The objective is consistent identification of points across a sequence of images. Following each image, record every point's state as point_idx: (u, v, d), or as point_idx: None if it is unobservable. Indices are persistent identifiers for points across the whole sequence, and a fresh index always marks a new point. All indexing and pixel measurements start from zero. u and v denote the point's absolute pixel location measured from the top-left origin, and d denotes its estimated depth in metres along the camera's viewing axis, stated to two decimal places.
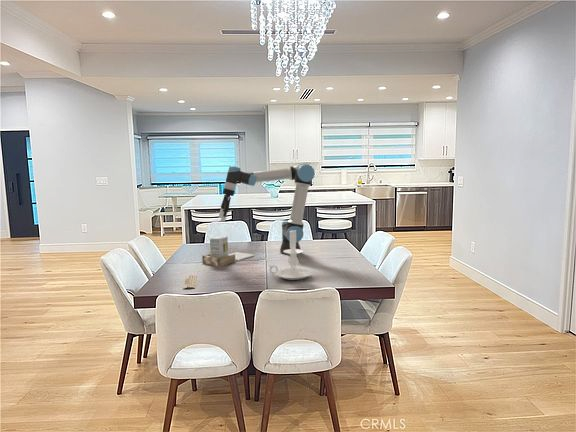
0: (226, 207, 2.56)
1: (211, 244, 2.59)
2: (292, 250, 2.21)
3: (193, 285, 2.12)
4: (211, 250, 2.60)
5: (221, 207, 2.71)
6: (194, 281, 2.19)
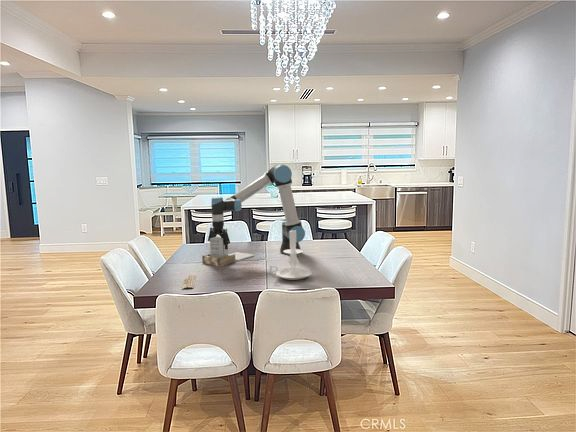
0: (227, 240, 2.57)
1: (211, 244, 2.59)
2: (292, 250, 2.21)
3: (192, 285, 2.12)
4: (211, 250, 2.60)
5: None
6: (193, 281, 2.19)
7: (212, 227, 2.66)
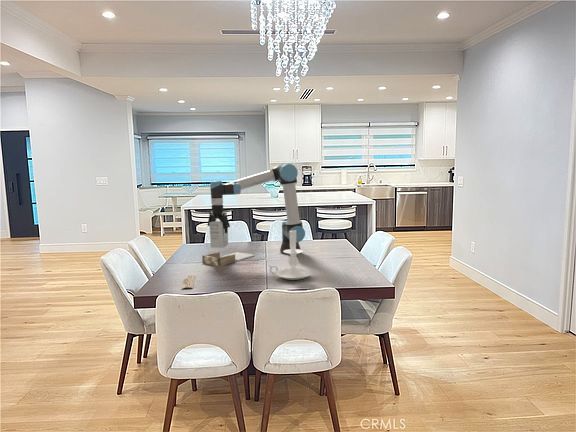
0: (227, 223, 2.56)
1: (211, 228, 2.58)
2: (292, 250, 2.21)
3: (191, 285, 2.12)
4: (211, 234, 2.59)
5: None
6: (192, 281, 2.19)
7: None
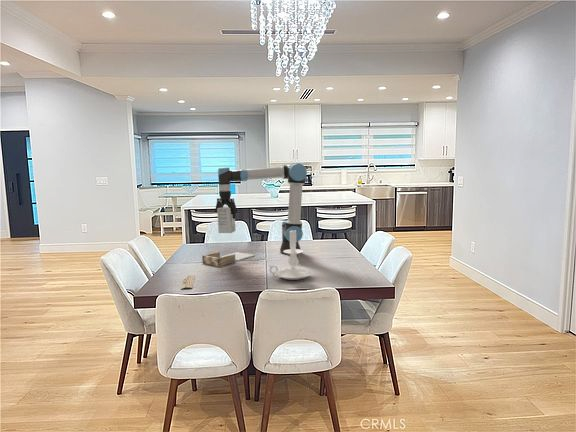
0: (235, 209, 2.61)
1: (219, 214, 2.63)
2: (292, 250, 2.21)
3: (191, 285, 2.12)
4: (219, 220, 2.63)
5: None
6: (192, 281, 2.19)
7: (219, 198, 2.69)
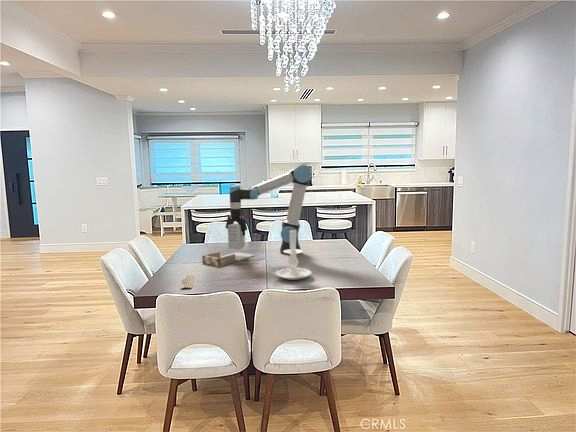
0: (245, 226, 2.70)
1: (229, 230, 2.72)
2: (292, 250, 2.21)
3: (190, 285, 2.12)
4: (229, 236, 2.73)
5: None
6: (191, 281, 2.19)
7: None
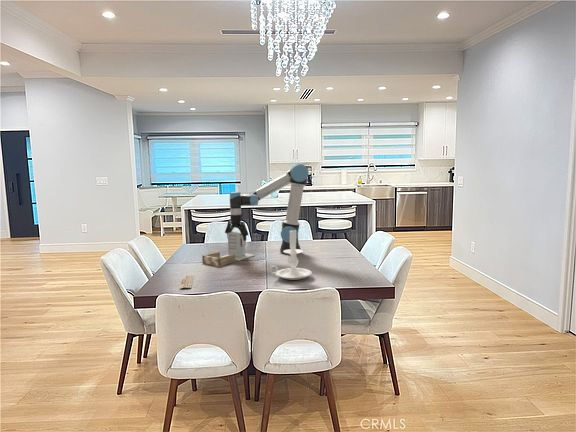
0: (245, 231, 2.70)
1: (229, 238, 2.73)
2: (292, 250, 2.21)
3: (189, 285, 2.12)
4: (229, 244, 2.74)
5: None
6: (191, 281, 2.19)
7: (230, 220, 2.79)
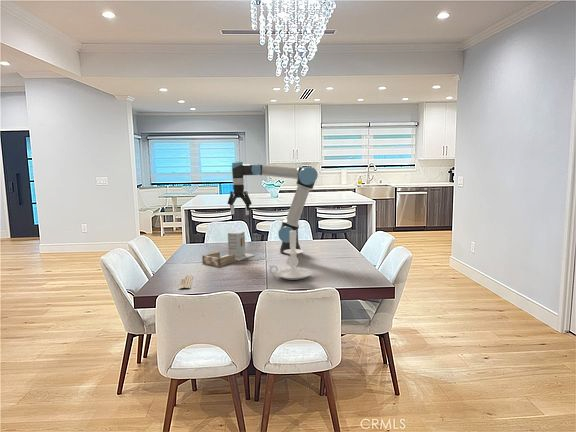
0: (249, 201, 2.71)
1: (229, 238, 2.73)
2: (292, 250, 2.21)
3: (189, 285, 2.12)
4: (229, 244, 2.74)
5: (231, 204, 2.80)
6: (190, 281, 2.19)
7: (232, 191, 2.79)
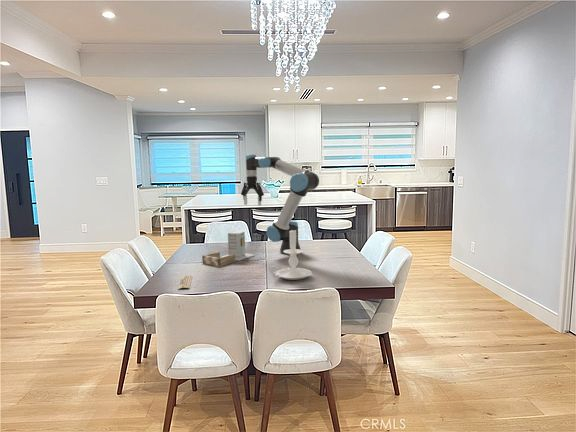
0: (261, 192, 2.84)
1: (229, 238, 2.73)
2: (292, 250, 2.21)
3: (188, 285, 2.11)
4: (229, 244, 2.74)
5: (244, 194, 2.93)
6: (189, 281, 2.19)
7: (246, 182, 2.93)
